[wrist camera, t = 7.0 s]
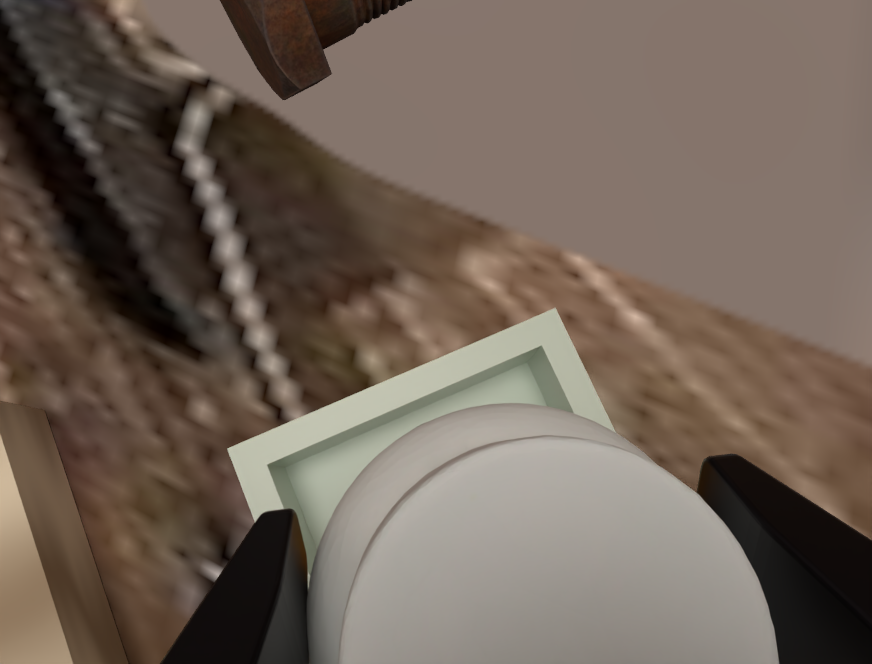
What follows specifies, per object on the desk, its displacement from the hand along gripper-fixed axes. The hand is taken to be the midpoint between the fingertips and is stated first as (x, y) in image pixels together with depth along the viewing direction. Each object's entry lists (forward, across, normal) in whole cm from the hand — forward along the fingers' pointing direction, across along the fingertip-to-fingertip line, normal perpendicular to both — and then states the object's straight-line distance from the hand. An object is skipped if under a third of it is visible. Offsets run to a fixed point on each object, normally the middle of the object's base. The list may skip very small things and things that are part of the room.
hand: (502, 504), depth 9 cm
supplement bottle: (+4, 0, +6) cm, 7 cm away
